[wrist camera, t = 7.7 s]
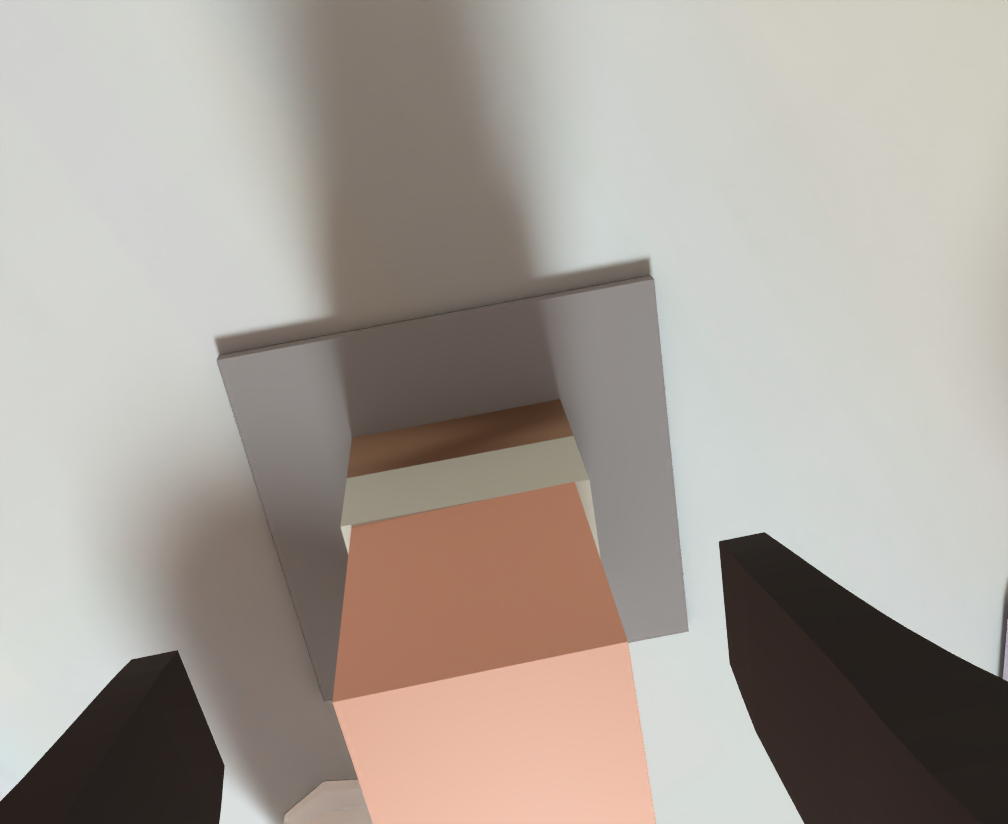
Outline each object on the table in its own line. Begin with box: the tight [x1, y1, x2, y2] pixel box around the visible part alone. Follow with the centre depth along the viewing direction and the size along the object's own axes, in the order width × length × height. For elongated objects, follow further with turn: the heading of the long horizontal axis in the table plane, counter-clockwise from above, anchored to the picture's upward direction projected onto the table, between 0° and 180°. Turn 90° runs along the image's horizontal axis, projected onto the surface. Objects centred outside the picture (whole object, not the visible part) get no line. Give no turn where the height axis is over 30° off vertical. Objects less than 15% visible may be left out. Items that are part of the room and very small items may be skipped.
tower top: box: [340, 436, 601, 559], centre depth 20 cm, size 5×5×2 cm
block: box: [332, 482, 656, 824], centre depth 17 cm, size 4×4×5 cm
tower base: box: [347, 399, 573, 478], centre depth 22 cm, size 5×5×2 cm
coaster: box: [217, 276, 688, 701], centre depth 23 cm, size 10×10×1 cm
